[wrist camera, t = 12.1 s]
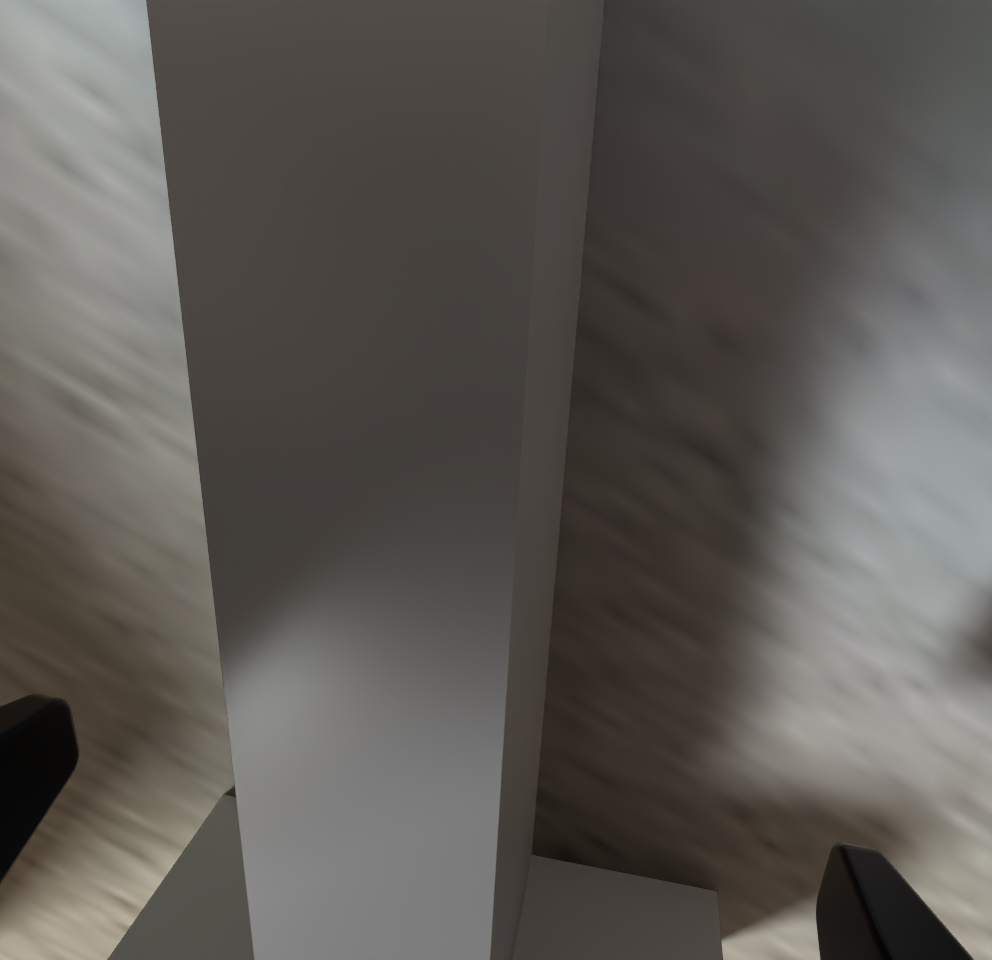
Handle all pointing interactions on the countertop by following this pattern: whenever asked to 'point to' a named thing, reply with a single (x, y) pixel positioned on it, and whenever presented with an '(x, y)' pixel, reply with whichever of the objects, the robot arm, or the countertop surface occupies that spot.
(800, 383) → the countertop surface
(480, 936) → the grey t-shaped block
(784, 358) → the countertop surface
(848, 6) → the countertop surface
